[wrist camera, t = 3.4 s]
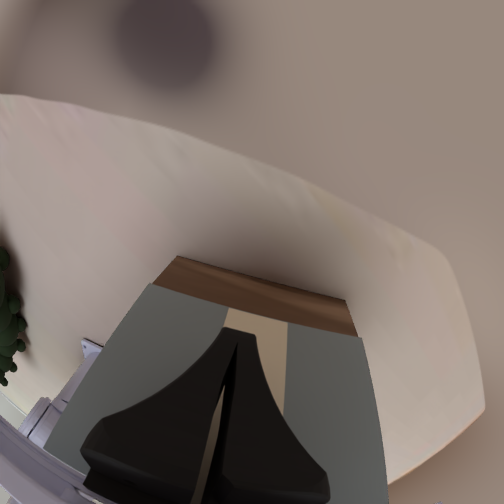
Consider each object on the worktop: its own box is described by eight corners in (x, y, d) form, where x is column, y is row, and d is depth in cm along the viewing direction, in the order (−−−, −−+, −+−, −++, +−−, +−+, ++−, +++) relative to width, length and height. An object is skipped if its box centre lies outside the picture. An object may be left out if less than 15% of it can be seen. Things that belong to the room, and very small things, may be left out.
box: (296, 392, 26) (297, 429, 21) (166, 359, 26) (149, 392, 21) (345, 300, 21) (358, 337, 17) (177, 255, 21) (151, 283, 17)
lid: (381, 520, 6) (391, 517, 5) (48, 452, 6) (41, 447, 5) (357, 344, 16) (362, 336, 16) (149, 290, 16) (149, 281, 16)
